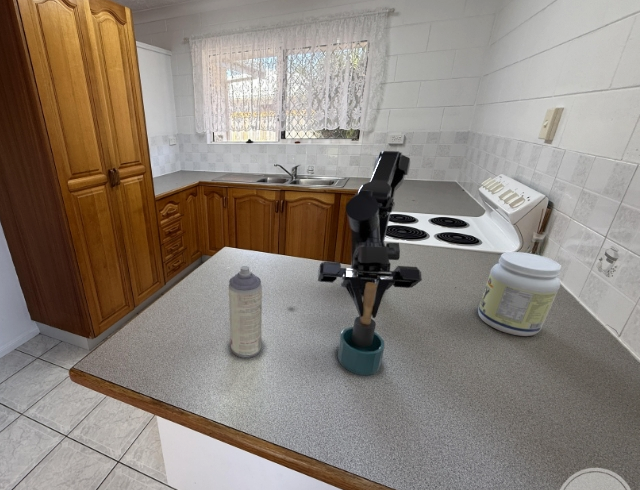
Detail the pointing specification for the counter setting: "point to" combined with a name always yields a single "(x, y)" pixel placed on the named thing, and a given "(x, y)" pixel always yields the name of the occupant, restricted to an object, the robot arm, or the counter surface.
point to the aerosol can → (245, 313)
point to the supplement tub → (520, 293)
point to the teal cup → (360, 354)
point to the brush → (365, 318)
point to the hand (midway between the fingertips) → (367, 317)
